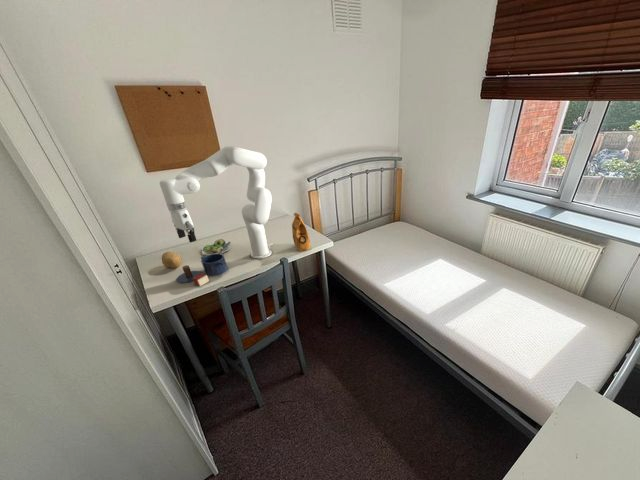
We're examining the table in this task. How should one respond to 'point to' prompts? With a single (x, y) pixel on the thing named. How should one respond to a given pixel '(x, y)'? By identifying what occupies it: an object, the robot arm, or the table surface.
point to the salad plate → (216, 247)
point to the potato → (171, 259)
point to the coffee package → (300, 234)
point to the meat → (200, 279)
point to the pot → (214, 264)
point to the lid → (187, 275)
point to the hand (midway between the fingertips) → (187, 239)
